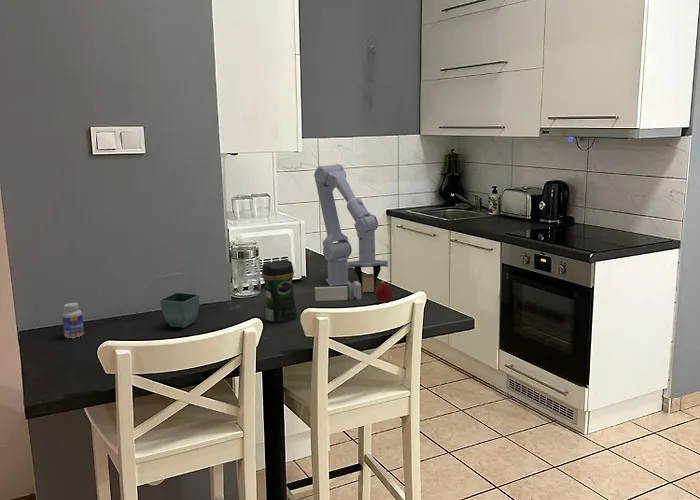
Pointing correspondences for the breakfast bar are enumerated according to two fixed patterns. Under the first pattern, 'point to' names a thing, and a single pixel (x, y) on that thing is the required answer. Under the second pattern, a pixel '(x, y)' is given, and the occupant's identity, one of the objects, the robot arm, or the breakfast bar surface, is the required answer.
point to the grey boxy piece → (354, 290)
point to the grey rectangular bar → (331, 293)
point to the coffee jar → (279, 291)
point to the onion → (383, 292)
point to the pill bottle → (72, 321)
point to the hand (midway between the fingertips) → (367, 286)
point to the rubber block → (367, 283)
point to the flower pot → (180, 309)
